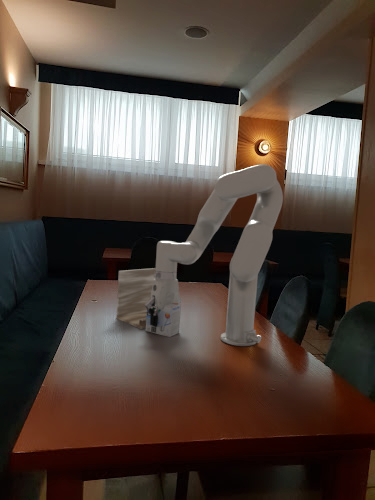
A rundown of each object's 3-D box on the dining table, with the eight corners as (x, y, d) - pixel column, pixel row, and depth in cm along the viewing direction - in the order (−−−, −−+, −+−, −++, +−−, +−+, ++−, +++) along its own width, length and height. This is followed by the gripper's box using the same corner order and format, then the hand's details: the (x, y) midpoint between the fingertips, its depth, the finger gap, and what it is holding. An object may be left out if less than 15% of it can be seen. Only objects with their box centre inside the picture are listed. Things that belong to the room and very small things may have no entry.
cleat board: (177, 321, 153) (180, 274, 151) (141, 328, 140) (144, 277, 139) (151, 312, 164) (154, 268, 162) (116, 318, 152) (118, 270, 150)
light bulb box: (144, 331, 138) (146, 301, 137) (155, 327, 144) (156, 298, 143) (170, 337, 133) (172, 306, 132) (180, 332, 139) (181, 303, 138)
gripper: (153, 279, 128) (150, 330, 129) (190, 275, 140) (187, 322, 142) (139, 275, 133) (137, 325, 134) (176, 272, 145) (173, 317, 147)
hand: (162, 323), depth 138 cm, fingers closed on light bulb box, 8 cm apart
